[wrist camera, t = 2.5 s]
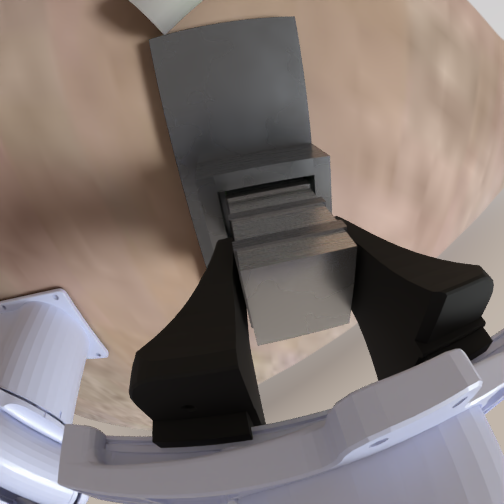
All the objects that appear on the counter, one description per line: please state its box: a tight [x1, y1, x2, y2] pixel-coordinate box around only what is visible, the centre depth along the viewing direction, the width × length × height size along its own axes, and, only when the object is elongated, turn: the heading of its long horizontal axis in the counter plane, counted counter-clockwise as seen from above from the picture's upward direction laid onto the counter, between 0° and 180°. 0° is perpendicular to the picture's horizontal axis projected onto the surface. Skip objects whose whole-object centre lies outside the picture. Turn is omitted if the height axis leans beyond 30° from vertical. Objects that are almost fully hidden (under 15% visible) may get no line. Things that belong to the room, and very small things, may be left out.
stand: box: [149, 17, 332, 268], centre depth 14 cm, size 7×17×4 cm, turn 9°
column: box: [225, 177, 357, 345], centre depth 12 cm, size 4×4×8 cm
